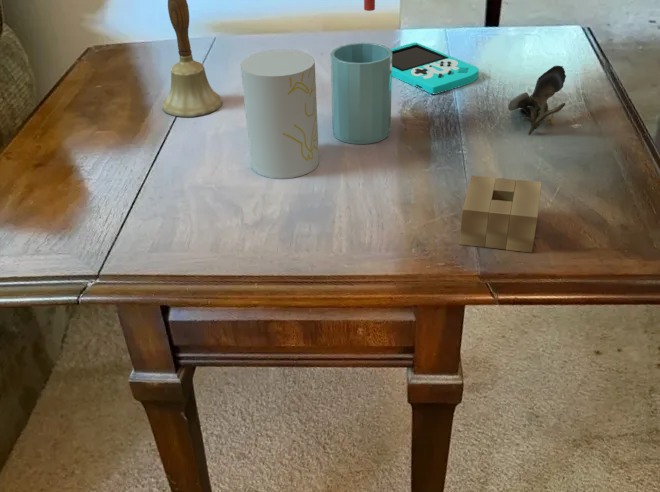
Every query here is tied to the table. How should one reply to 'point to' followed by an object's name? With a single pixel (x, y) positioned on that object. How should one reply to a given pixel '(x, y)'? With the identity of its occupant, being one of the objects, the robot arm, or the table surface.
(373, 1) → the straw
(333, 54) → the tumbler
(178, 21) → the hand bell
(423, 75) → the handheld game console
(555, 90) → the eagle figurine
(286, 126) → the cup
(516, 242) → the straw holder
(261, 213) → the table surface
